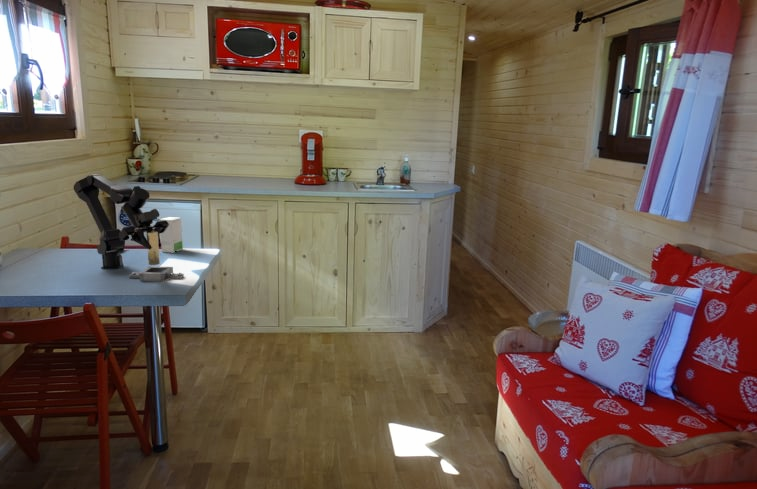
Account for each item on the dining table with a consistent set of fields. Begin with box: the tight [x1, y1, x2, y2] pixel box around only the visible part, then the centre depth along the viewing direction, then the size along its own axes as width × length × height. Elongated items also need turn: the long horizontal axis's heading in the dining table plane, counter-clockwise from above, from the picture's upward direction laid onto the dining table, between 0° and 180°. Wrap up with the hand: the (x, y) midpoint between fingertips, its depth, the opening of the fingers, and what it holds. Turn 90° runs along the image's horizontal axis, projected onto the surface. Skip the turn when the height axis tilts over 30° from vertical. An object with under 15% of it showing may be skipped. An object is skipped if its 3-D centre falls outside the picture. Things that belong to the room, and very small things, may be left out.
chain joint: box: [129, 265, 185, 282], centre depth 202 cm, size 20×9×3 cm, turn 93°
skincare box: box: [159, 216, 184, 254], centre depth 240 cm, size 8×7×16 cm
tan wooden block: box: [145, 231, 160, 266], centre depth 197 cm, size 4×4×12 cm
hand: (155, 247), depth 196 cm, fingers closed on tan wooden block, 4 cm apart
